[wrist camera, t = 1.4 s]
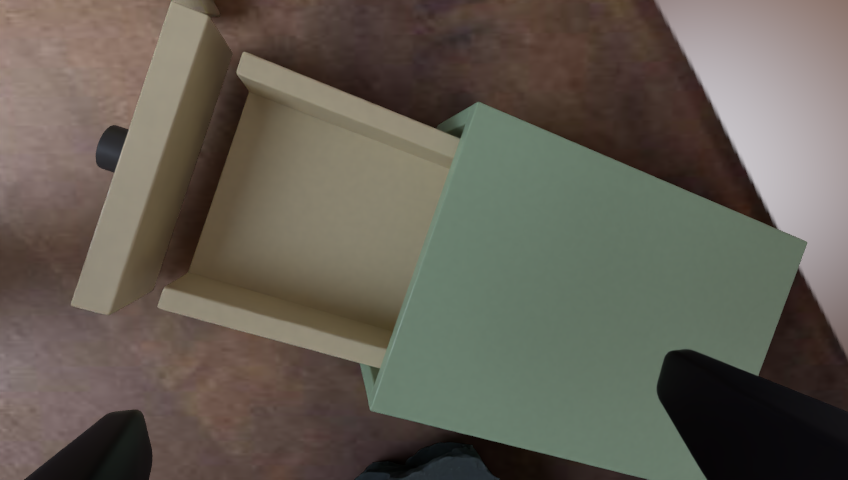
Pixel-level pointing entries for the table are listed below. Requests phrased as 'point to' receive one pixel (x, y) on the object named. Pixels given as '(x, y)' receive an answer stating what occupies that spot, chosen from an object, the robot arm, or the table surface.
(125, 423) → the robot arm
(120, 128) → the drawer
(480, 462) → the stone
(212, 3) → the banana
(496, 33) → the table surface
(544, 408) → the cabinet
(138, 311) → the table surface
